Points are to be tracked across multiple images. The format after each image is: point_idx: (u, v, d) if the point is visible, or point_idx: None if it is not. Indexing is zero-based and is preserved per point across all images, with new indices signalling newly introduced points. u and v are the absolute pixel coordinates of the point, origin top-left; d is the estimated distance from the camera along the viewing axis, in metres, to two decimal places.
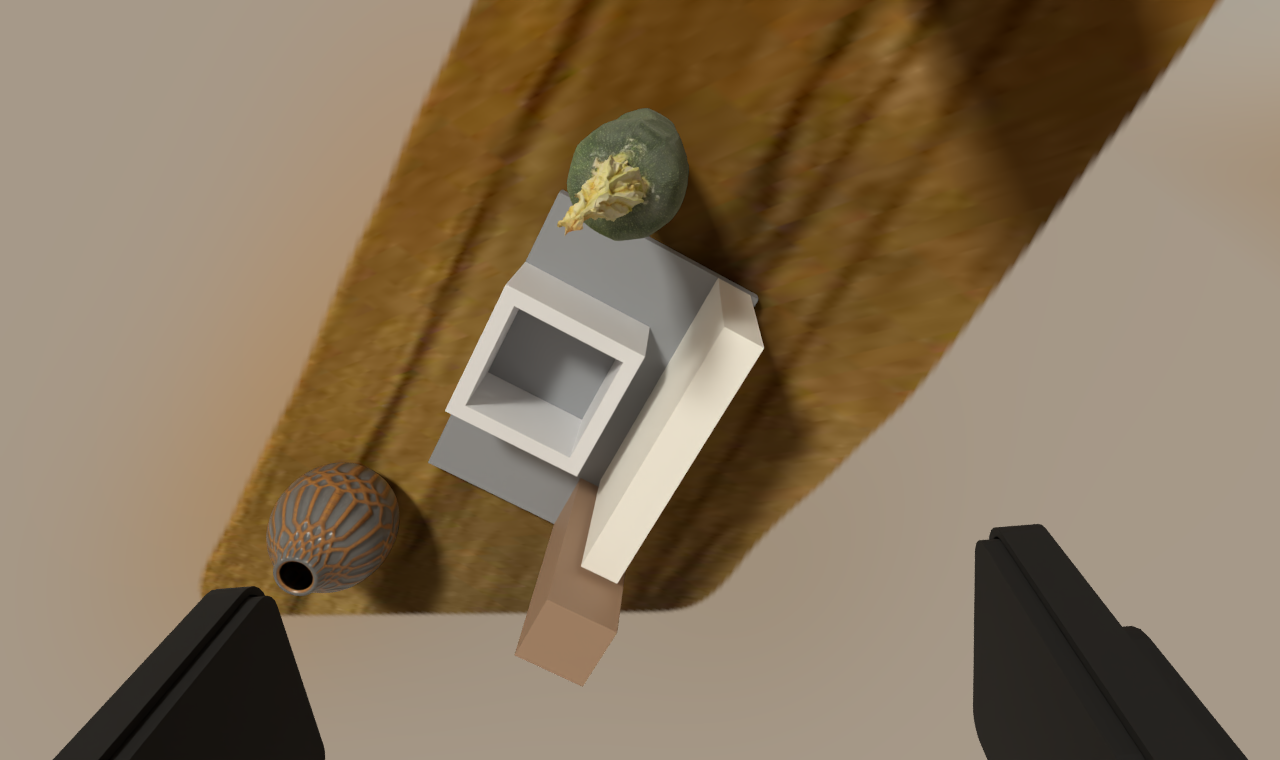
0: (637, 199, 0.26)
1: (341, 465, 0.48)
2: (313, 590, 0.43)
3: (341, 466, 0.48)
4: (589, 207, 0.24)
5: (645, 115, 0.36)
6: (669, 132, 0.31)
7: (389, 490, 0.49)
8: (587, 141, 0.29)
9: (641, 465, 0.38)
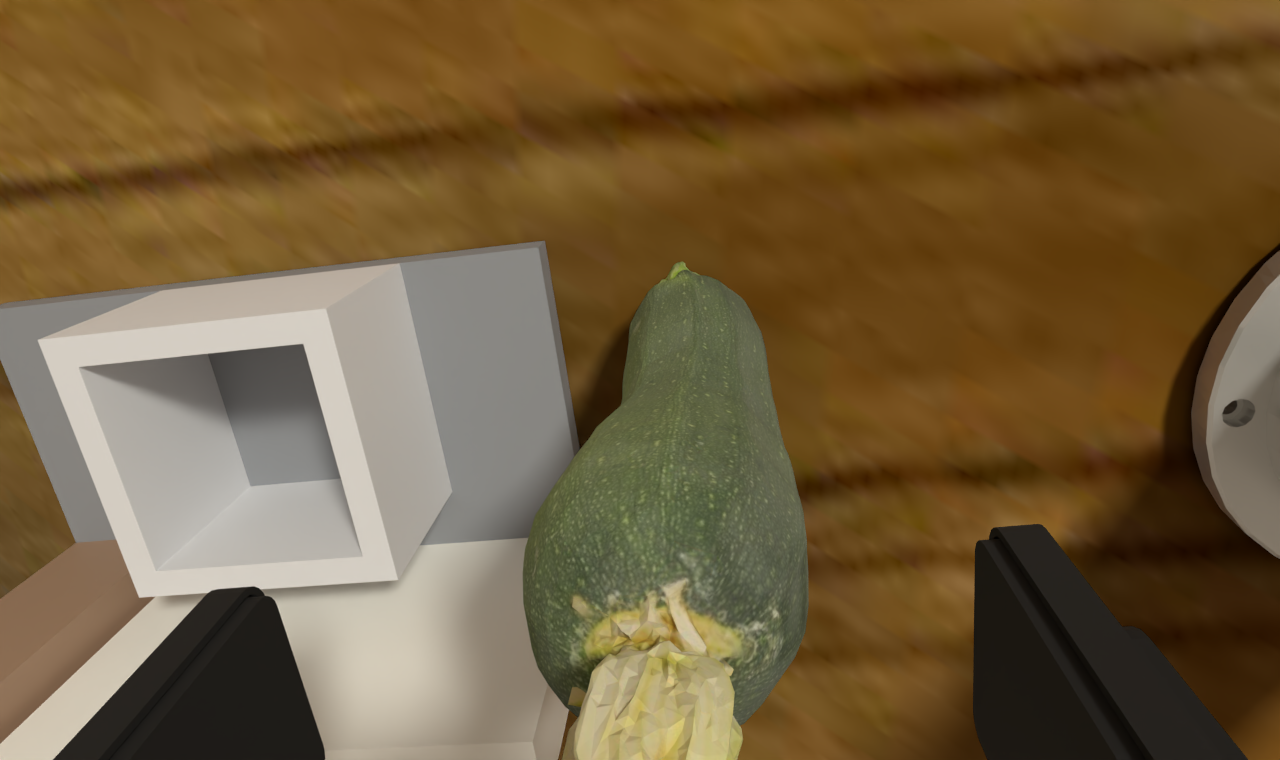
0: None
1: None
2: None
3: None
4: None
5: (759, 366, 0.19)
6: None
7: None
8: (699, 499, 0.11)
9: None
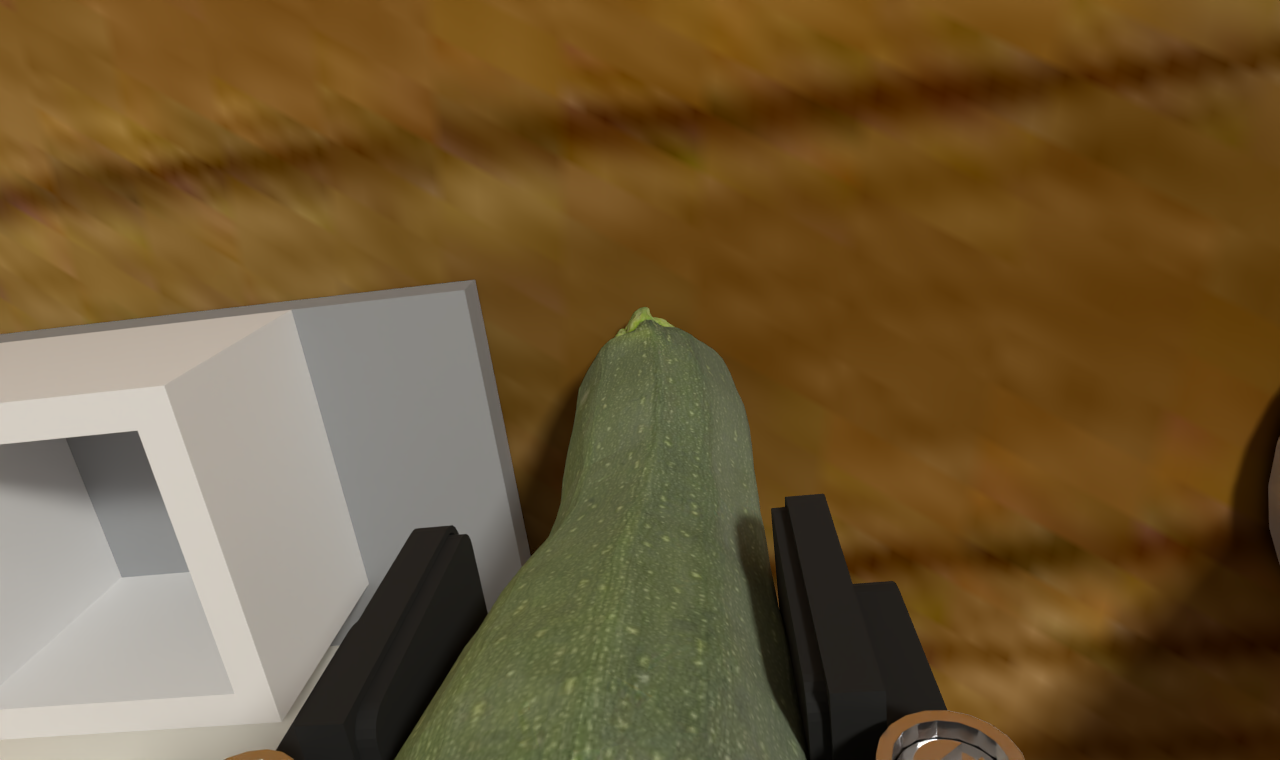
0: None
1: None
2: None
3: None
4: None
5: (741, 463, 0.14)
6: None
7: None
8: None
9: None
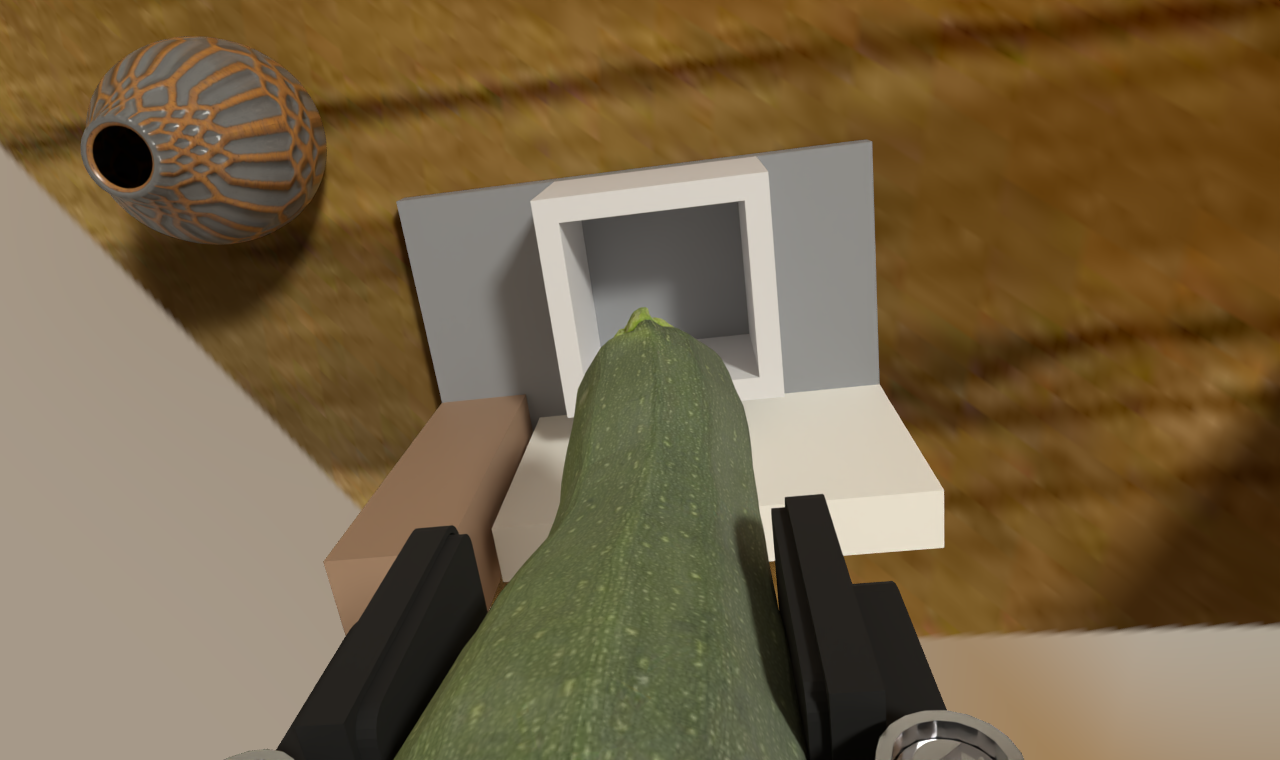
0: None
1: (304, 91, 0.29)
2: (123, 198, 0.24)
3: (304, 93, 0.29)
4: None
5: (741, 463, 0.14)
6: None
7: (321, 179, 0.31)
8: None
9: None
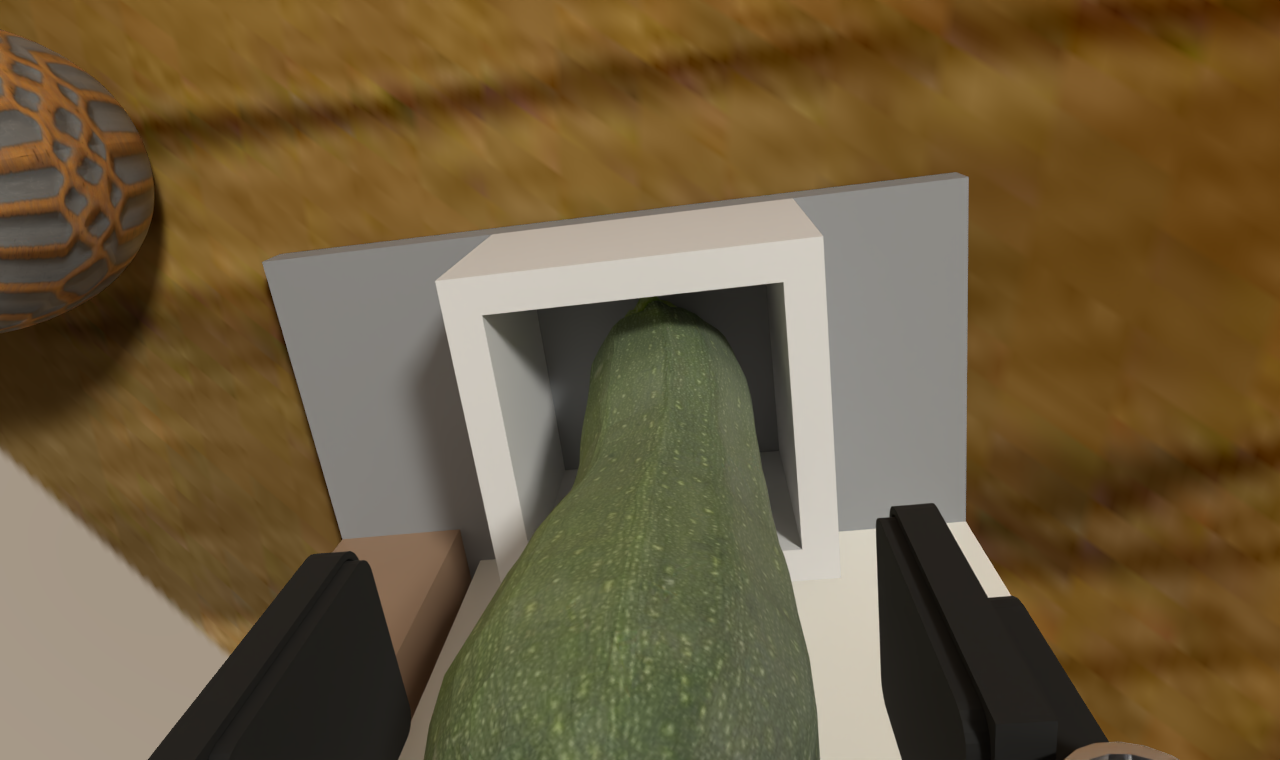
0: None
1: (104, 102, 0.19)
2: None
3: (102, 104, 0.19)
4: None
5: (744, 426, 0.15)
6: None
7: (143, 232, 0.21)
8: (666, 688, 0.07)
9: None
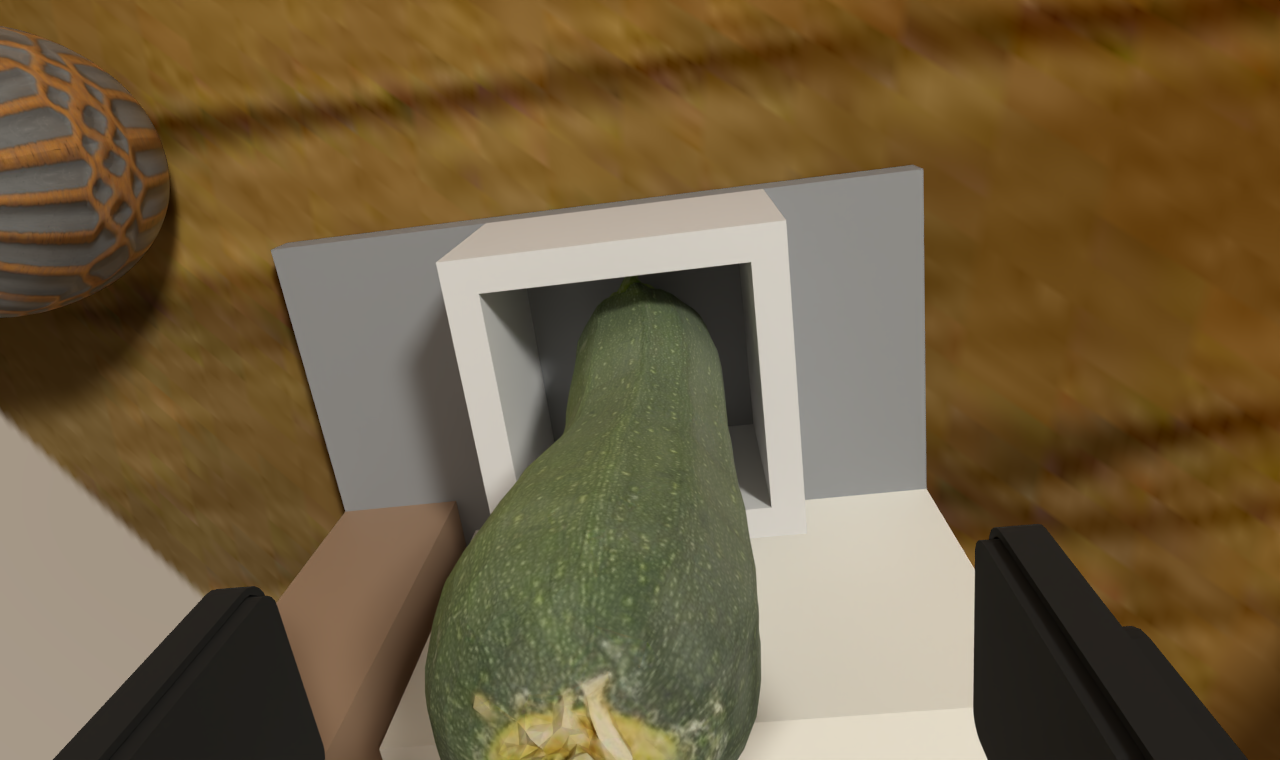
0: None
1: (125, 100, 0.21)
2: None
3: (124, 103, 0.20)
4: None
5: (713, 391, 0.17)
6: None
7: (160, 221, 0.22)
8: (627, 571, 0.09)
9: None
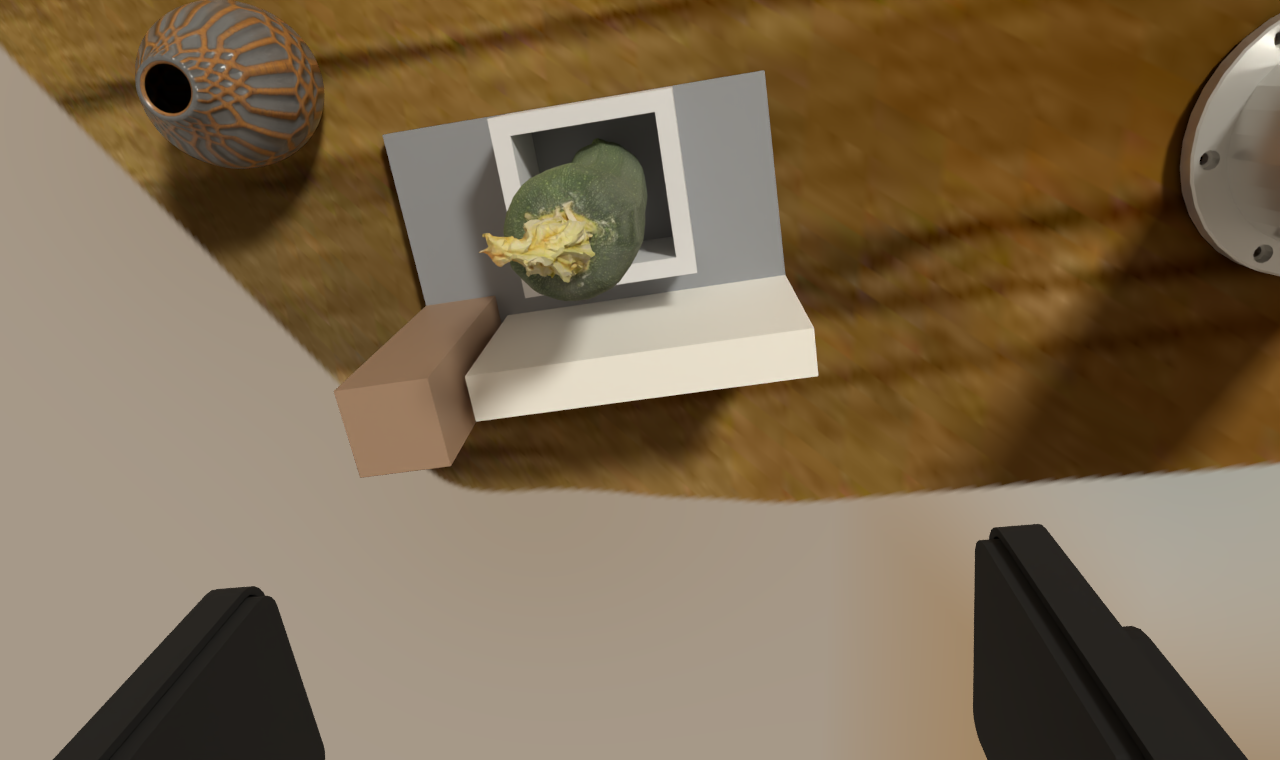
0: (567, 280, 0.23)
1: (305, 44, 0.36)
2: (169, 121, 0.32)
3: (305, 45, 0.36)
4: (525, 257, 0.20)
5: (636, 177, 0.33)
6: (642, 233, 0.28)
7: (320, 116, 0.38)
8: (579, 176, 0.25)
9: (618, 355, 0.33)
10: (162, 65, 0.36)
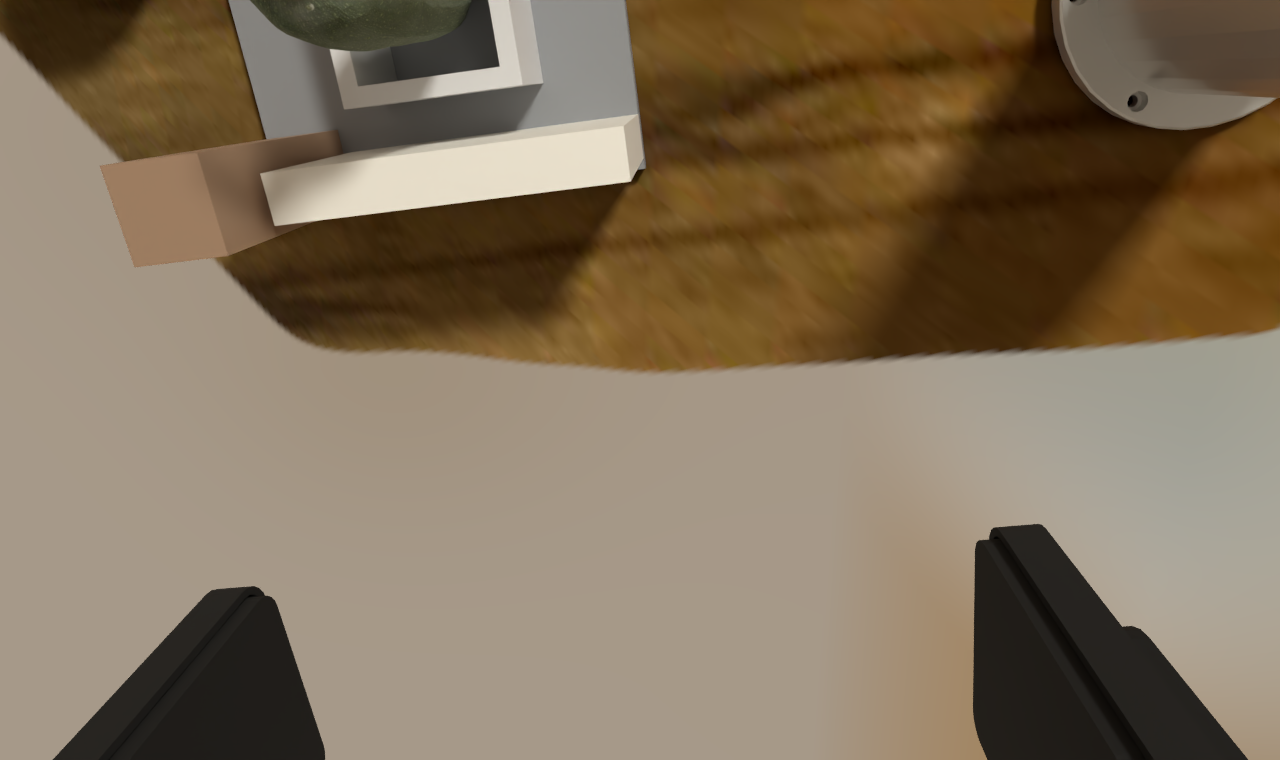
0: None
1: None
2: None
3: None
4: None
5: None
6: None
7: None
8: None
9: (420, 153, 0.31)
10: None
